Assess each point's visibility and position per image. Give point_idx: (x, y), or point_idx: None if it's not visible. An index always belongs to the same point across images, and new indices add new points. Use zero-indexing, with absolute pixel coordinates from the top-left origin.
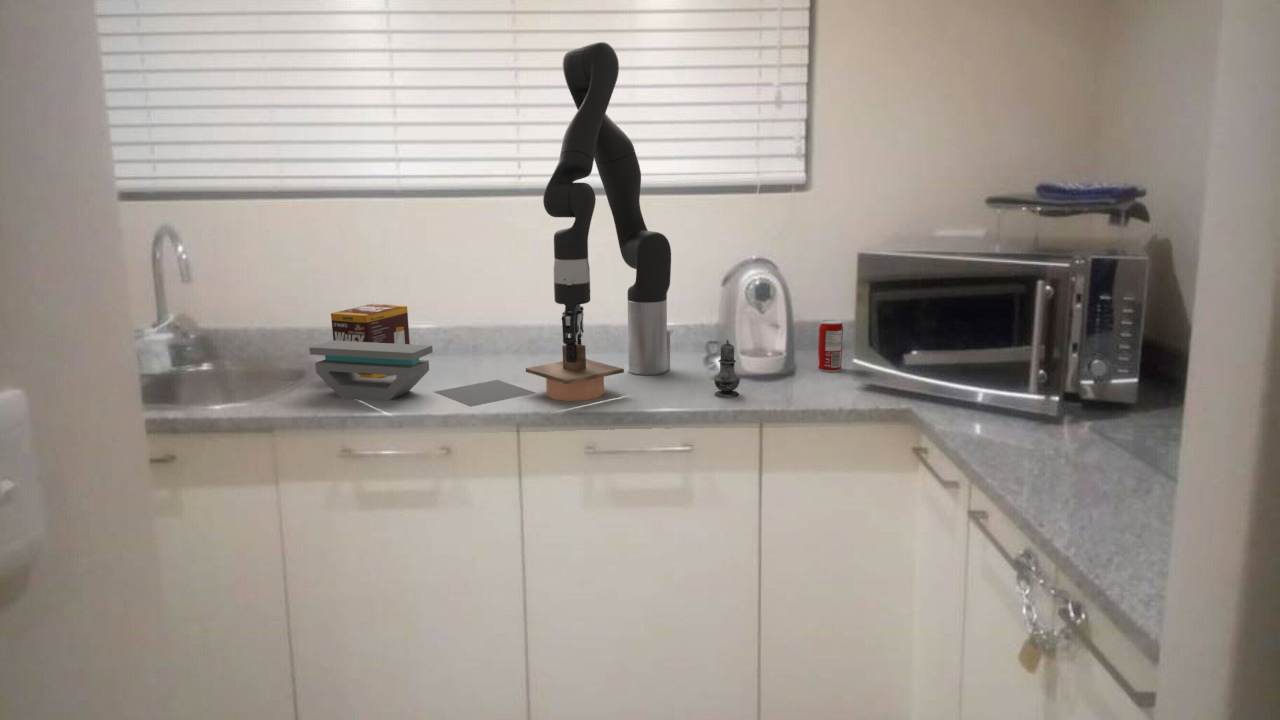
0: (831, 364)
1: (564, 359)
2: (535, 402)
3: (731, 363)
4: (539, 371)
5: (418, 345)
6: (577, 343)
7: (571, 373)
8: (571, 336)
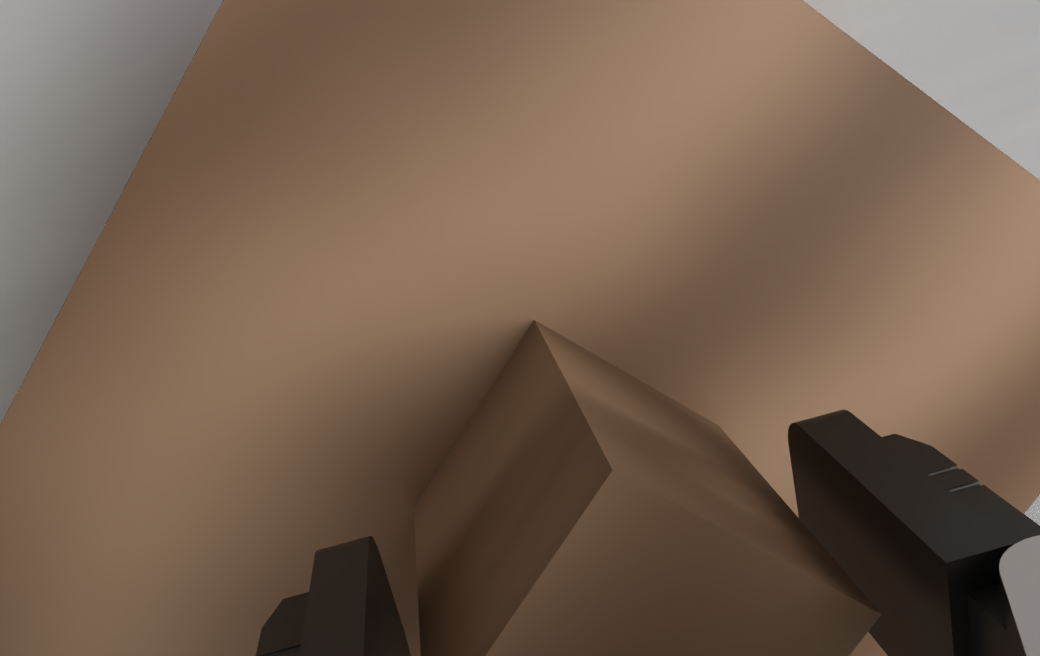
0: None
1: (530, 408)
2: (103, 69)
3: None
4: (237, 52)
5: None
6: (902, 631)
7: (281, 547)
8: (1004, 606)
